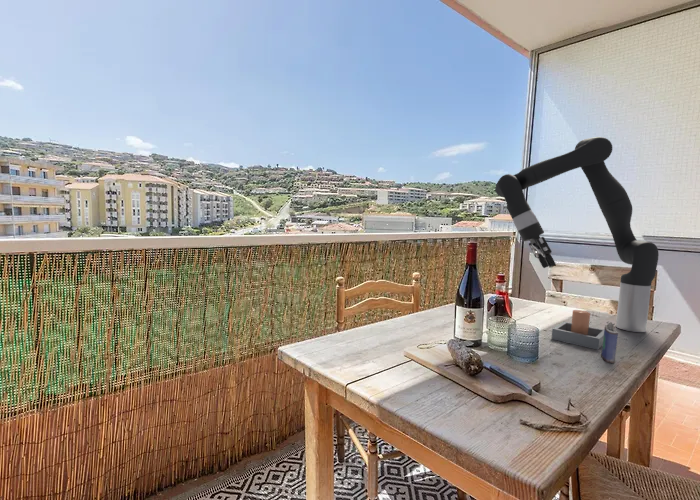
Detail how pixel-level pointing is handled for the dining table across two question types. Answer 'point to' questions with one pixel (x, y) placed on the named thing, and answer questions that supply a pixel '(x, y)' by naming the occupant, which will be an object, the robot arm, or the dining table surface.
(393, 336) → the dining table surface
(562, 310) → the dining table surface
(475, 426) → the dining table surface
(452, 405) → the dining table surface
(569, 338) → the tray
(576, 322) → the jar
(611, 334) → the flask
